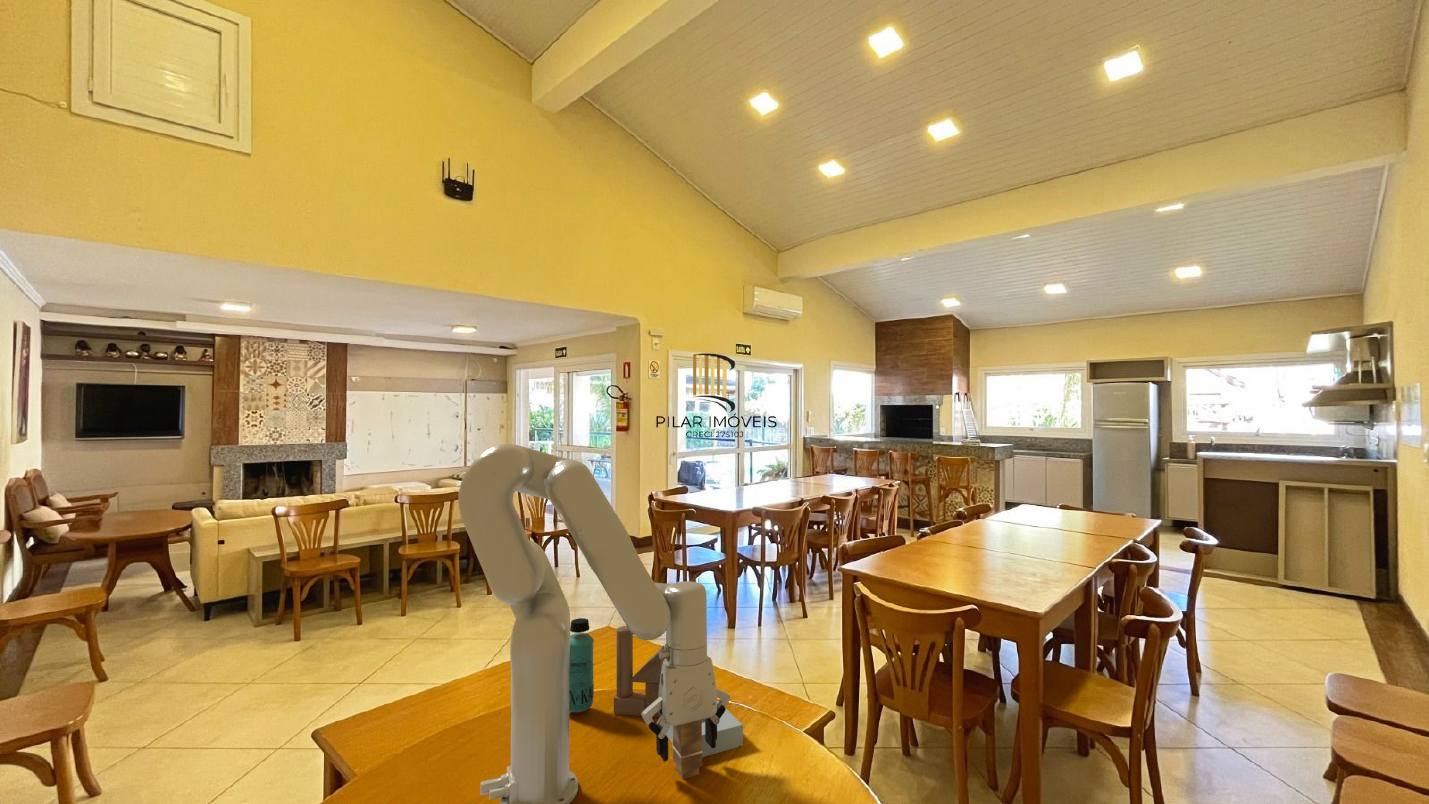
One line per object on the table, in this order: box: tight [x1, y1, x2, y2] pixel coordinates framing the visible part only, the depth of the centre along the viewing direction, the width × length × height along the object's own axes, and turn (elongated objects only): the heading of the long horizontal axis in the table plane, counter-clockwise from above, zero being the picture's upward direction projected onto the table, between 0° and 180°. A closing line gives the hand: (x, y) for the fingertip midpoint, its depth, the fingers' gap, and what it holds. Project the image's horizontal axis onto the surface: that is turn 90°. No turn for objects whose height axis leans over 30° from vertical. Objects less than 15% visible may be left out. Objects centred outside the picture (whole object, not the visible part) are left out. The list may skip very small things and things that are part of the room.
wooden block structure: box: [613, 625, 666, 719], centre depth 123 cm, size 4×11×18 cm, turn 81°
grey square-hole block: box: [666, 699, 744, 758], centre depth 113 cm, size 12×14×4 cm
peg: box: [671, 720, 703, 780], centre depth 101 cm, size 4×4×10 cm
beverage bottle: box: [569, 617, 595, 713], centre depth 123 cm, size 6×7×20 cm
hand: (687, 750), depth 101 cm, fingers open, 8 cm apart
